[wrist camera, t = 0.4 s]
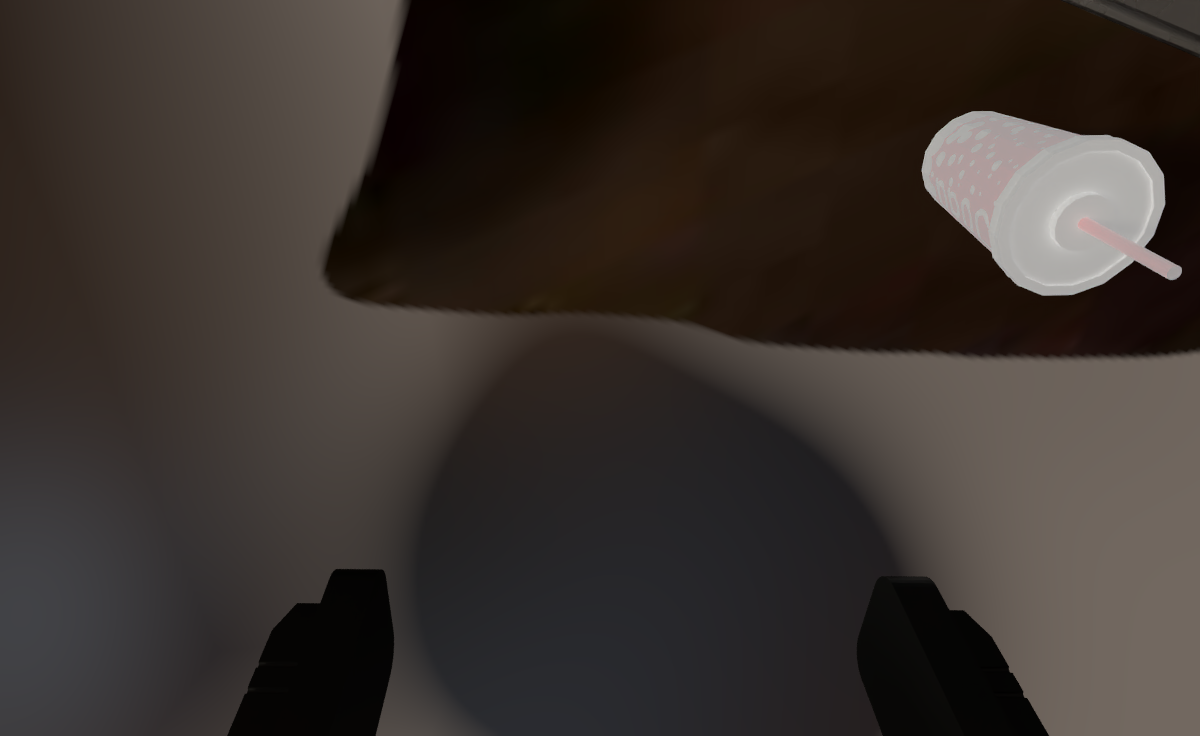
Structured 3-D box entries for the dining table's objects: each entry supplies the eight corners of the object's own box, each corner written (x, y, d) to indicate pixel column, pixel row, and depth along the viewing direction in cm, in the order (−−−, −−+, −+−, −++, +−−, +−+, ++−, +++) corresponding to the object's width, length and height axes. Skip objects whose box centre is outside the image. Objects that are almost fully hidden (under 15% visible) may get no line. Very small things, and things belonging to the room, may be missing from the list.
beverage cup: (905, 109, 35) (1085, 200, 23) (1040, 79, 34) (1299, 157, 22) (905, 233, 38) (1066, 373, 26) (1030, 208, 37) (1253, 337, 25)
